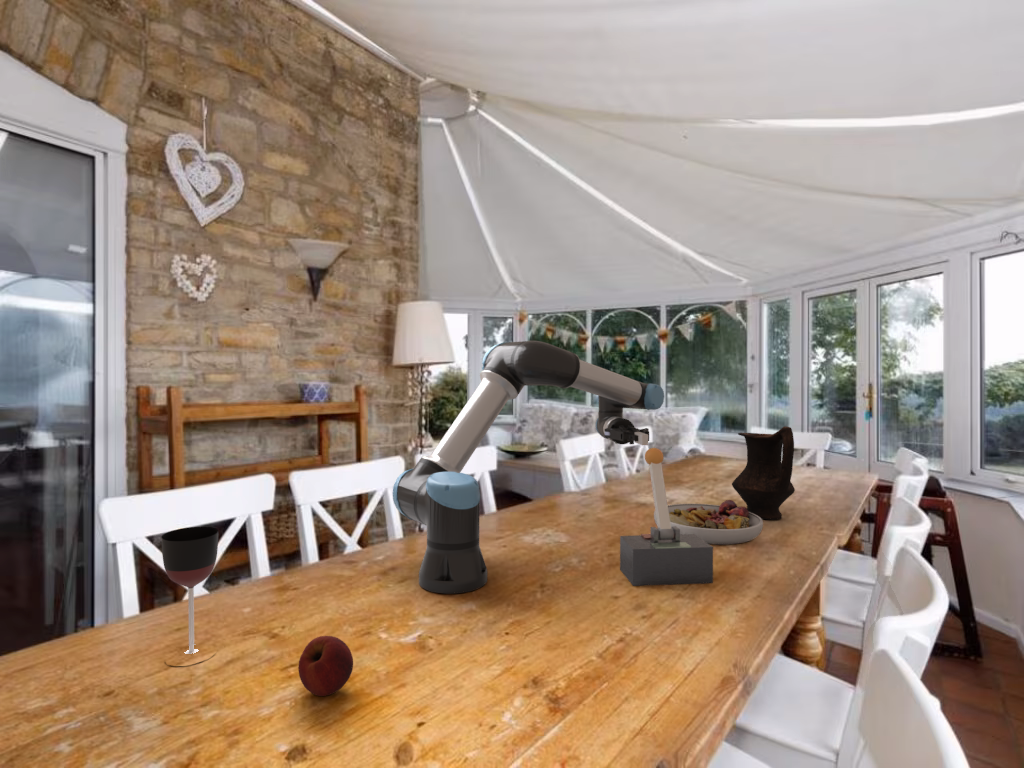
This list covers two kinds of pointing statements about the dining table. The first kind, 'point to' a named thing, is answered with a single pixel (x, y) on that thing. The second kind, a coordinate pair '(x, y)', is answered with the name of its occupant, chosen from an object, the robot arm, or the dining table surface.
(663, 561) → the switch box
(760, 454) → the jug
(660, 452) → the lever
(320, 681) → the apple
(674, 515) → the bowl
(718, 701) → the dining table surface
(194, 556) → the wineglass
